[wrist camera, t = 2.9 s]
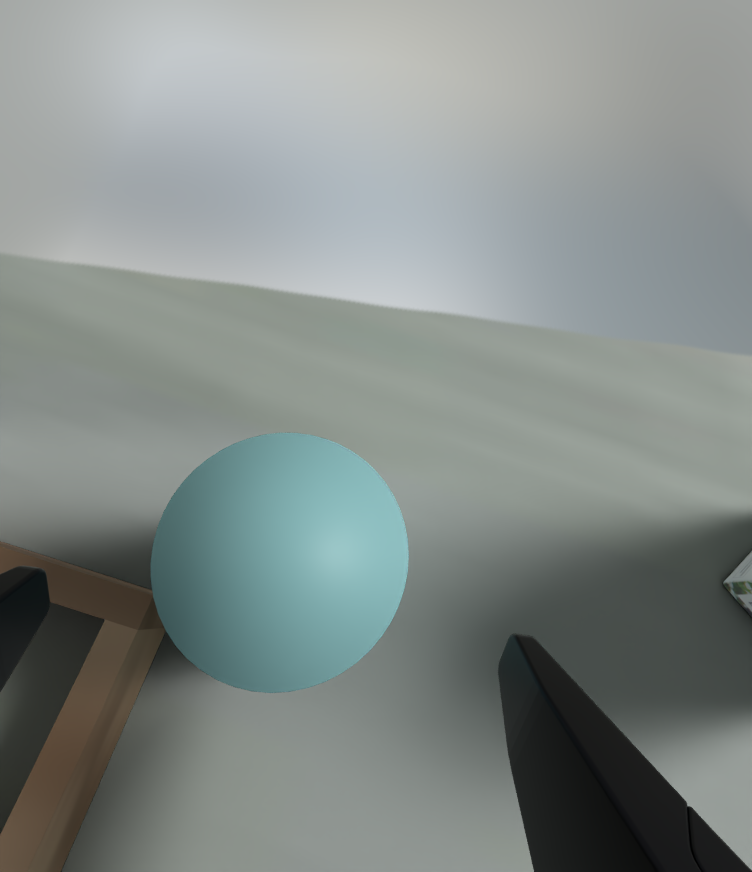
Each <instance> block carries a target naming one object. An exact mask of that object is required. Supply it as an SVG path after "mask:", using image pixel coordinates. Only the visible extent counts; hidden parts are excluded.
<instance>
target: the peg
mask: <svg viewBox="0 0 752 872" xmlns="http://www.w3.org/2000/svg"><path fill="white" fill-rule="evenodd" d="M408 558H409V553H408V539H407V533H406V528H405V523H404V520H403V517H402V514H401V511H400V508H399V506H398V504H397V502H396V500H395V497H394V495H393V494H392V492H391V491H390V489H389V487H388V486H387V484H386V483H385V481H384V480H383V479H382V478H381V476H380V475H379V474H378V473H377V472H376V470H374V469H373V468H372V467H371V466H370V465H369V464H368V463H367V462H366V461H365V460H364V459H362V458H361V457H359V456H358V455H357V454H355V453H354V452H352V451H351V450H349V449H347V448H345V447H343V446H342V445H340V444H337V443H335V442H332V441H330V440H327V439H324V438H320V437H317V436H313V435H307V434H299V433H275V434H265V435H261V436H257V437H252V438H249V439H246V440H243V441H240V442H238V443H235V444H233V445H231V446H229V447H227V448H225V449H223V450H221V451H219V452H218V453H216V454H215V455H213V456H212V457H210V458H208V459H207V460H206V461H204V462H203V463H202V464H201V465H200V466H199V467H197V468H196V469H195V470H194V471H193V472H192V473H191V474H190V475H189V476H188V477H187V478H186V479H185V480H184V482H183V483H182V484H181V485H180V487H179V488H178V489H177V491H176V492H175V493H174V495H173V496H172V498H171V500H170V502H169V503H168V505H167V507H166V509H165V510H164V513H163V515H162V517H161V520H160V522H159V525H158V527H157V531H156V535H155V539H154V542H153V548H152V556H151V585H152V592H153V598H154V601H155V605H156V608H157V612H158V615H159V617H160V619H161V621H162V623H163V626H164V628H165V630H166V632H167V633H168V635H169V636H170V638H171V639H172V641H173V642H174V644H175V646H176V647H177V648H178V649H179V650H180V651H181V652H182V653H183V655H184V656H185V657H186V658H187V659H188V660H189V661H190V662H192V663H193V664H194V665H195V666H196V667H198V668H199V669H200V670H201V671H203V672H205V673H206V674H208V675H210V676H211V677H213V678H215V679H216V680H218V681H221V682H223V683H226V684H228V685H231V686H233V687H236V688H241V689H245V690H249V691H255V692H267V693H277V692H290V691H295V690H300V689H305V688H309V687H312V686H315V685H317V684H320V683H323V682H326V681H328V680H329V679H331V678H333V677H335V676H337V675H339V674H341V673H343V672H344V671H345V670H347V669H348V668H350V667H351V666H353V665H354V664H355V663H357V662H358V661H359V660H360V659H361V658H362V657H363V656H364V655H365V654H367V653H368V652H369V651H370V650H371V649H372V647H373V646H374V645H375V644H376V643H377V641H378V640H379V639H380V638H381V637H382V635H383V634H384V632H385V631H386V629H387V627H388V626H389V624H390V623H391V621H392V619H393V617H394V615H395V613H396V611H397V609H398V606H399V604H400V601H401V598H402V595H403V592H404V588H405V583H406V578H407V573H408Z"/></svg>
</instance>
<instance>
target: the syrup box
mask: <svg viewBox="0 0 752 872" xmlns="http://www.w3.org/2000/svg"><path fill="white" fill-rule="evenodd" d="M723 584H724V586H725V587H726V588H727V589H728V591H729V592H730V593H731V594H732V595H733V596H734V598H735V599H736V600H737V601H738V602H739V604H740V605H741V606H742V607H743V608H744V609H745V610H746V611H747V612H748V613H749V614H750V616H751V617H752V551H751V552H750V554H749V555H748V556H747V557H746V558H745V559H744V560H743V561H742V563H741V564H740V565H739V566H738V567H737V568H736V569H735V570H734V571H733V572H732V573H731V575H730V576H729V577H728V578H727V579H726V580H725V581H724V582H723Z"/></svg>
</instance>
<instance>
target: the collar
mask: <svg viewBox="0 0 752 872" xmlns="http://www.w3.org/2000/svg"><path fill="white" fill-rule="evenodd" d="M17 566H31V567H38V568H42V569H44V570H45V572H46V574H47V581H48V589H49V597H50V602H52V603H55V604H58V605H61V606H64V607H67V608H70V609H73V610H77V611H80V612H83V613H86V614H89V615H92V616H95V617H98V618H102V619H105V621H104V623H103V625H102V627H101V629H100V631H99V633H98V635H97V637H96V639H95V641H94V643H93V645H92V647H91V649H90V652H89V654H88V656H87V658H86V660H85V662H84V664H83V666H82V668H81V670H80V672H79V674H78V676H77V678H76V680H75V682H74V684H73V686H72V688H71V691H70V693H69V695H68V697H67V699H66V701H65V703H64V705H63V707H62V709H61V711H60V713H59V715H58V717H57V719H56V721H55V723H54V725H53V727H52V730H51V732H50V734H49V736H48V738H47V740H46V742H45V744H44V746H43V748H42V750H41V752H40V754H39V756H38V758H37V760H36V762H35V764H34V767H33V769H32V771H31V773H30V775H29V777H28V779H27V781H26V783H25V785H24V787H23V789H22V791H21V793H20V795H19V797H18V799H17V801H16V803H15V806H14V808H13V810H12V812H11V814H10V816H9V818H8V820H7V822H6V824H5V826H4V828H3V830H2V832H1V834H0V872H61V870H62V868H63V866H64V863H65V861H66V859H67V856H68V854H69V852H70V849H71V847H72V845H73V843H74V840H75V838H76V836H77V833H78V831H79V829H80V827H81V824H82V822H83V820H84V817H85V815H86V813H87V810H88V808H89V806H90V804H91V801H92V799H93V797H94V794H95V792H96V790H97V788H98V785H99V783H100V781H101V778H102V776H103V774H104V771H105V769H106V767H107V765H108V762H109V760H110V758H111V755H112V753H113V751H114V749H115V746H116V744H117V742H118V739H119V737H120V735H121V732H122V730H123V728H124V726H125V723H126V721H127V719H128V716H129V714H130V712H131V709H132V707H133V705H134V703H135V700H136V698H137V696H138V693H139V691H140V689H141V687H142V684H143V682H144V680H145V677H146V675H147V673H148V670H149V668H150V666H151V664H152V661H153V659H154V657H155V654H156V652H157V650H158V648H159V645H160V643H161V641H162V638H163V636H164V634H165V631H166V630H165V628H164V626H163V623H162V621H161V619H160V617H159V615H158V612H157V608H156V605H155V601H154V598H153V592H152V590H150V589H147V588H144V587H141V586H138V585H135V584H131V583H128V582H125V581H122V580H119V579H116V578H113V577H110V576H107V575H103V574H100V573H97V572H94V571H91V570H88V569H85V568H82V567H78V566H75V565H72V564H69V563H66V562H63V561H60V560H57V559H54V558H50V557H47V556H44V555H41V554H38V553H35V552H32V551H29V550H26V549H22V548H19V547H16V546H13V545H10V544H7V543H4V542H1V541H0V574H1V573H4V572H6V571H8V570H10V569H12V568H15V567H17Z"/></svg>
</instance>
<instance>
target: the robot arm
mask: <svg viewBox="0 0 752 872" xmlns="http://www.w3.org/2000/svg"><path fill="white" fill-rule="evenodd" d="M49 606H50V597H49V589H48V581H47V574H46V572H45V570H44V569H42V568H38V567H31V566H17V567H15V568H12V569H10V570H8V571H6V572H4V573H1V574H0V691H1V690H2V688H3V687H4V685H5V683H6V682H7V680H8V679H9V677H10V675H11V674H12V672H13V670H14V668H15V667H16V665H17V663H18V662H19V660H20V658H21V657H22V655H23V653H24V652H25V650H26V648H27V647H28V645H29V643H30V642H31V640H32V638H33V636H34V635H35V633H36V631H37V630H38V628H39V626H40V625H41V623H42V621H43V620H44V618H45V616H46V614H47V612H48V610H49ZM498 675H499V684H500V692H501V700H502V708H503V716H504V725H505V733H506V741H507V748H508V755H509V760H510V765H511V770H512V775H513V779H514V784H515V788H516V793H517V797H518V802H519V806H520V811H521V815H522V820H523V824H524V829H525V833H526V837H527V842H528V846H529V851H530V855H531V860H532V864H533V869H534V872H752V870H751V869H750V868H749V867H748V866H747V865H746V864H745V863H744V862H743V861H742V860H741V859H740V858H739V857H738V856H737V855H736V854H735V853H734V852H733V851H732V850H731V849H730V848H729V846H728V845H727V844H726V843H725V842H724V841H723V840H722V839H721V838H720V837H719V836H718V835H717V834H716V833H715V832H714V831H713V830H712V829H711V828H710V827H709V825H708V824H707V823H706V822H705V821H704V820H703V819H702V818H701V817H700V816H699V815H698V814H697V813H696V811H695V810H694V809H693V808H692V807H690V806H688V807H687V802H686V801H685V800H684V799H683V798H682V797H681V795H680V794H679V793H678V792H677V791H676V790H675V789H674V788H673V787H672V786H671V785H670V784H669V783H668V781H667V780H666V779H665V778H664V777H663V776H662V775H661V774H660V773H659V772H658V771H657V770H656V769H655V767H654V766H653V765H652V764H651V763H650V762H649V761H648V760H647V759H646V758H645V757H644V756H643V755H642V753H641V752H640V751H639V750H638V749H637V748H636V747H635V746H634V745H633V744H632V743H631V742H630V741H629V739H628V738H627V737H626V736H625V735H624V734H623V733H622V732H621V731H620V730H619V729H618V728H617V727H616V725H615V724H614V723H613V722H612V721H611V720H610V719H609V718H608V717H607V716H606V715H605V714H604V713H603V711H602V710H601V709H600V708H599V707H598V706H597V705H596V704H595V703H594V702H593V701H592V700H591V699H590V697H589V696H588V695H587V694H586V693H585V692H584V691H583V690H582V689H581V688H580V687H579V686H578V685H577V683H576V682H575V681H574V680H573V679H572V678H571V677H570V676H569V675H568V674H567V673H566V672H565V671H564V669H563V668H562V667H561V666H560V665H559V664H558V663H557V662H556V661H555V660H554V659H553V658H552V656H551V655H550V654H549V653H548V652H547V651H546V650H545V649H544V648H543V647H542V646H541V645H540V644H539V642H538V641H537V640H536V639H535V638H533V637H532V636H529V635H522V634H512V635H511V636H510V637H509V639H508V641H507V644H506V647H505V649H504V652H503V654H502V657H501V659H500V662H499V668H498Z"/></svg>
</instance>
